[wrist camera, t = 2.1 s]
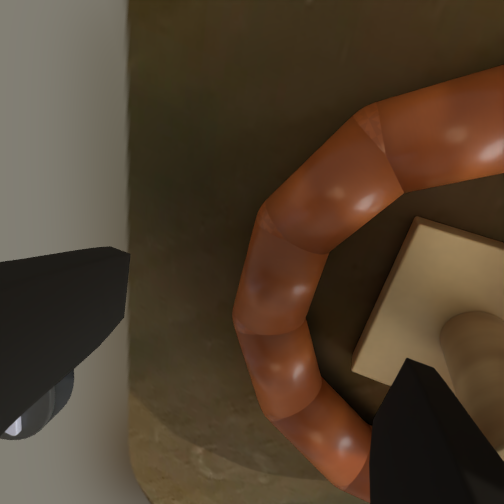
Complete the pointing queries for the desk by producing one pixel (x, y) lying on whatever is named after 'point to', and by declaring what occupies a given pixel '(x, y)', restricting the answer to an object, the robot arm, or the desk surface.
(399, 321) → the stand
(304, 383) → the ring
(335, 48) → the desk surface
